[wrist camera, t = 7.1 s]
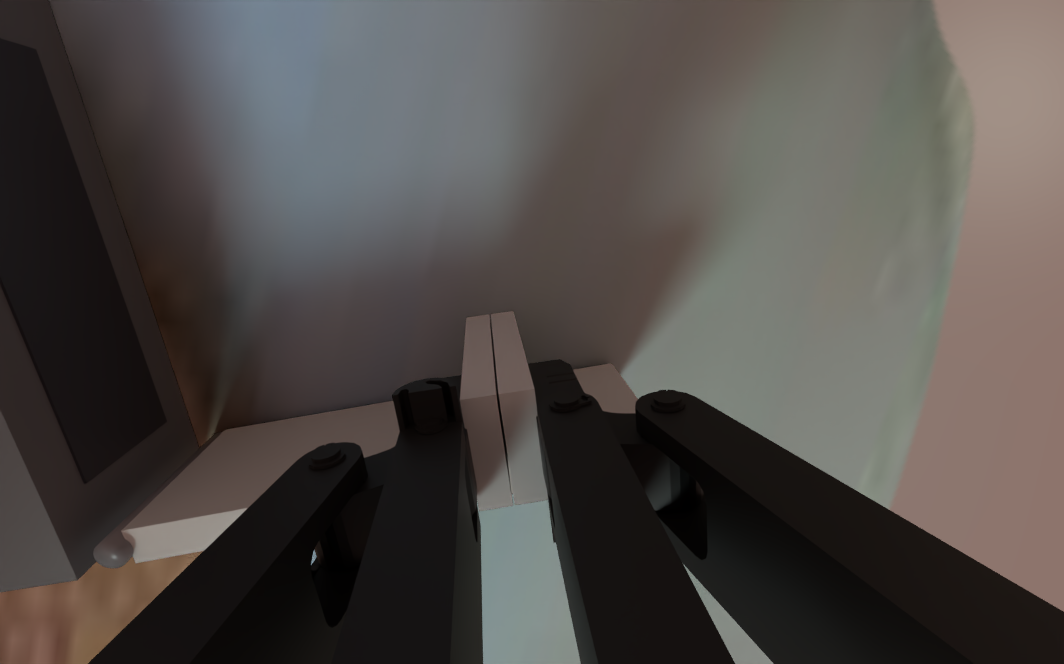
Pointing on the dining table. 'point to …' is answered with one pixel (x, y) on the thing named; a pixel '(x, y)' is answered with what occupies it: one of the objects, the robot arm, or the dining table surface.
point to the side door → (272, 471)
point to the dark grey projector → (69, 327)
